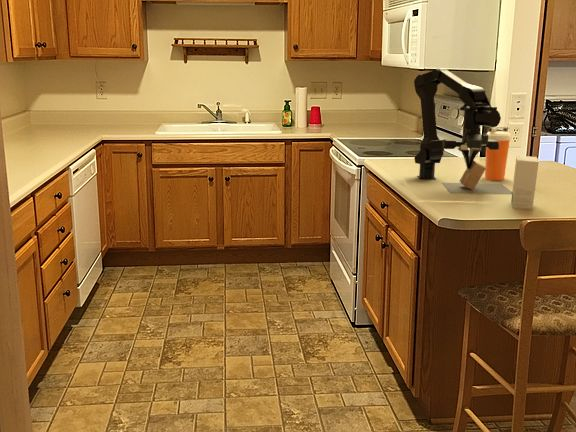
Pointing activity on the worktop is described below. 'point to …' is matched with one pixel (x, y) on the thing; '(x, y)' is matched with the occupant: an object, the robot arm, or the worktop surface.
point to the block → (472, 175)
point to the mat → (477, 188)
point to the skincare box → (524, 182)
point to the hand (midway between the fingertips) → (468, 168)
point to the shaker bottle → (497, 154)
